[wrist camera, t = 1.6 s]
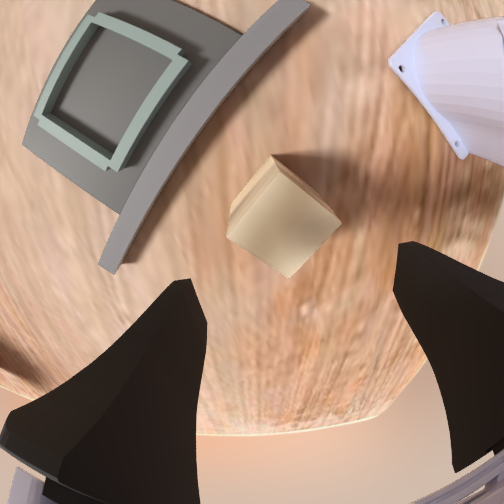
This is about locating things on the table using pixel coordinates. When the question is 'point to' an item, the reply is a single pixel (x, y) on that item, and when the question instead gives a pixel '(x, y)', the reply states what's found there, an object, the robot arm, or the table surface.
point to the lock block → (280, 218)
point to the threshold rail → (196, 123)
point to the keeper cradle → (121, 91)
